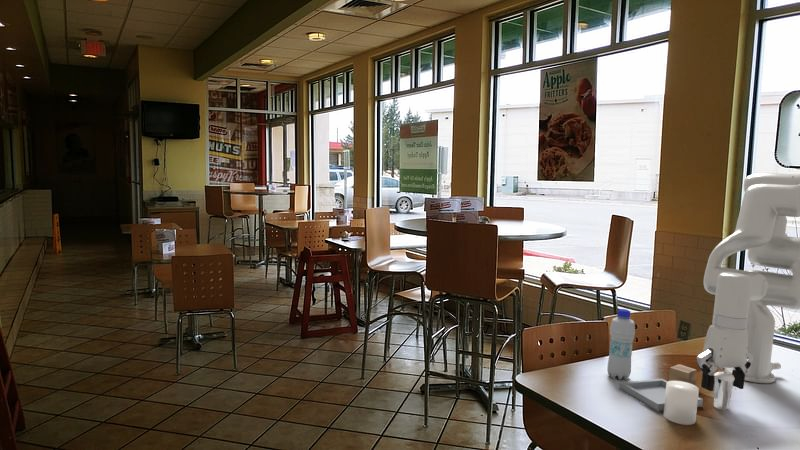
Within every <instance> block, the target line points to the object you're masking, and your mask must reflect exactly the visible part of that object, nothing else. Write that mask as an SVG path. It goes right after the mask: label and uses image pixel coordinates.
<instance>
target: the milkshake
mask: <svg viewBox="0 0 800 450" xmlns="http://www.w3.org/2000/svg"><path fill="white" fill-rule="evenodd" d="M721 369H722V370H721V371H717V372H714V374H713V375H714V376H715V380H714V389H713V406H714V407H715V408H716V409H718V410H722V411H727V410H729V408H730V407H729V406H730V404H731V403H730V402H731V397H732V392H733V388H734V386H733V384H734V380H735V378H734V376H733V375H732V374H729V373H727V372H726V371H725V368H721Z"/></svg>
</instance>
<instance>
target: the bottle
mask: <svg viewBox="0 0 800 450" xmlns="http://www.w3.org/2000/svg"><path fill="white" fill-rule="evenodd" d="M635 328H636V327H635V321H634V320H633V319H631V311H630V310H629V309H626V308H620V309H618V310H617V315H616V317H614V318H612V319H611V324H610V327H609V335H610V339H609V340H610V341H609V351H608V353H609V355H608V362H607V368H606V369H607V375H608V376H609V377H611V378H612V379H616V376H617V378H618V380H619V381H620V380H622V379H623V380H626V381H627V379H629V377H630V375H631V373H632V355H633V342H634V339H635V334H636V329H635Z"/></svg>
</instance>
